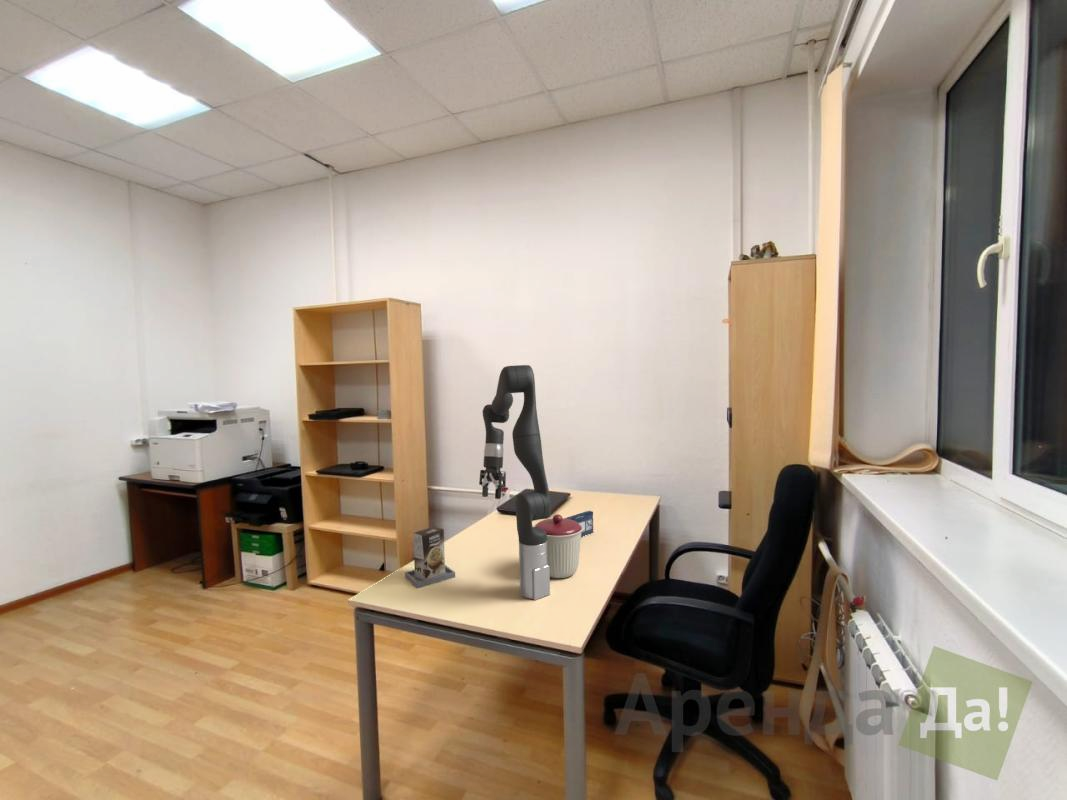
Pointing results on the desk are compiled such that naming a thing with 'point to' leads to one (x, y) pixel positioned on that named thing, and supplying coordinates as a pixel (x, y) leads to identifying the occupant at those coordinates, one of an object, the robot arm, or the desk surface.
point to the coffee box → (429, 553)
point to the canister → (562, 545)
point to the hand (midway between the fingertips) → (491, 497)
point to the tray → (421, 583)
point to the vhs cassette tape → (584, 521)
